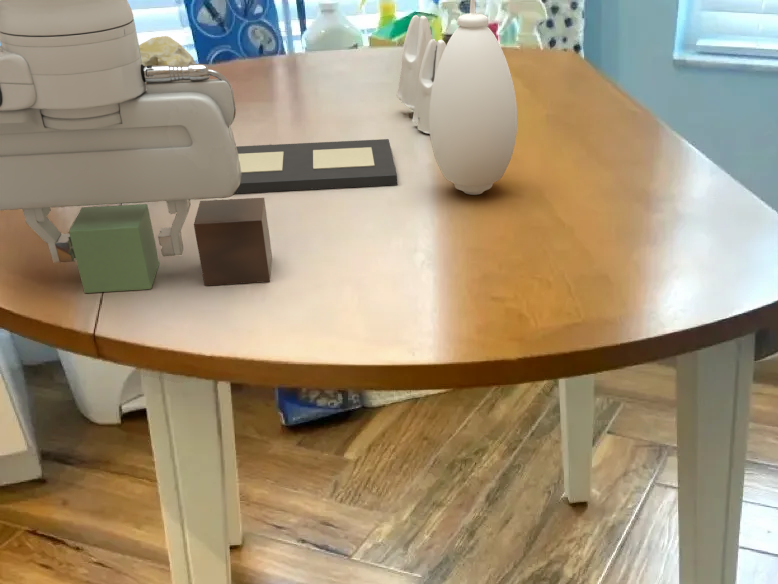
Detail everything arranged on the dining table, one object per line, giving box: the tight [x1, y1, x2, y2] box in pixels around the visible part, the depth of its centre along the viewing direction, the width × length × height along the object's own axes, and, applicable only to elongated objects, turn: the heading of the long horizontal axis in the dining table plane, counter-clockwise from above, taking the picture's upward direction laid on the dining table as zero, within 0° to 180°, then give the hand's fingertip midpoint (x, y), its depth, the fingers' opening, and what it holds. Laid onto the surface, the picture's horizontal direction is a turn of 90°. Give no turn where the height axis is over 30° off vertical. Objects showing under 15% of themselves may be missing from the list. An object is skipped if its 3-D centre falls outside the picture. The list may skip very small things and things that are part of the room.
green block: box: [68, 203, 160, 294], centre depth 74 cm, size 5×5×5 cm
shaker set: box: [396, 14, 447, 135], centre depth 107 cm, size 12×4×11 cm, turn 18°
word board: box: [233, 138, 398, 195], centre depth 96 cm, size 28×12×1 cm, turn 97°
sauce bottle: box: [429, 0, 518, 196], centre depth 86 cm, size 8×8×18 cm
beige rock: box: [139, 35, 196, 84], centre depth 110 cm, size 15×7×15 cm
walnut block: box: [193, 197, 273, 287], centre depth 75 cm, size 5×5×5 cm
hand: (119, 256), depth 74 cm, fingers open, 7 cm apart
